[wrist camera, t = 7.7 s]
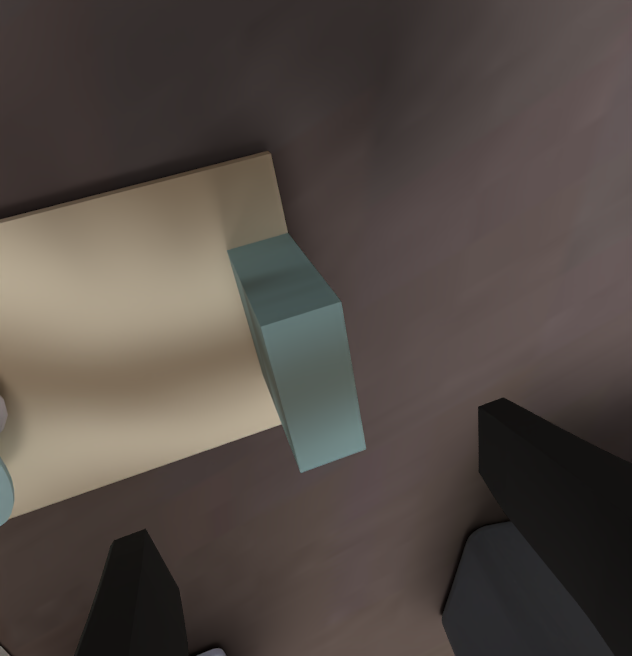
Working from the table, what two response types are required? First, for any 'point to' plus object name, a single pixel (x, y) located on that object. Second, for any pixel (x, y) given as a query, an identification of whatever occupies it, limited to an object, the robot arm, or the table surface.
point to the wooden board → (165, 333)
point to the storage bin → (513, 603)
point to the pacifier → (5, 476)
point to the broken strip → (3, 652)
